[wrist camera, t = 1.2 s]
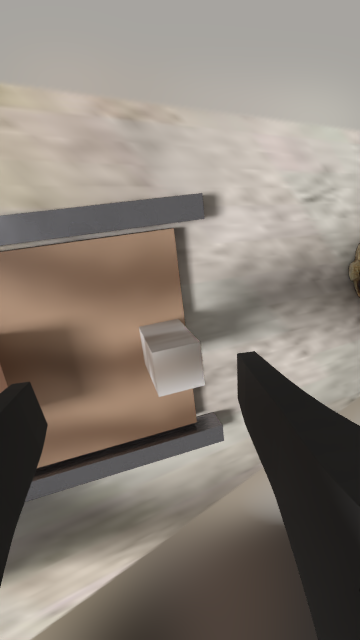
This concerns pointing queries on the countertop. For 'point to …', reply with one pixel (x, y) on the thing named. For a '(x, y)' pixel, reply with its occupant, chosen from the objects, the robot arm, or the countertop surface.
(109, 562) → the countertop surface
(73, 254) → the sliding panel with handle
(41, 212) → the guide rails
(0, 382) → the terracotta block
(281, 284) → the countertop surface
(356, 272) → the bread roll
